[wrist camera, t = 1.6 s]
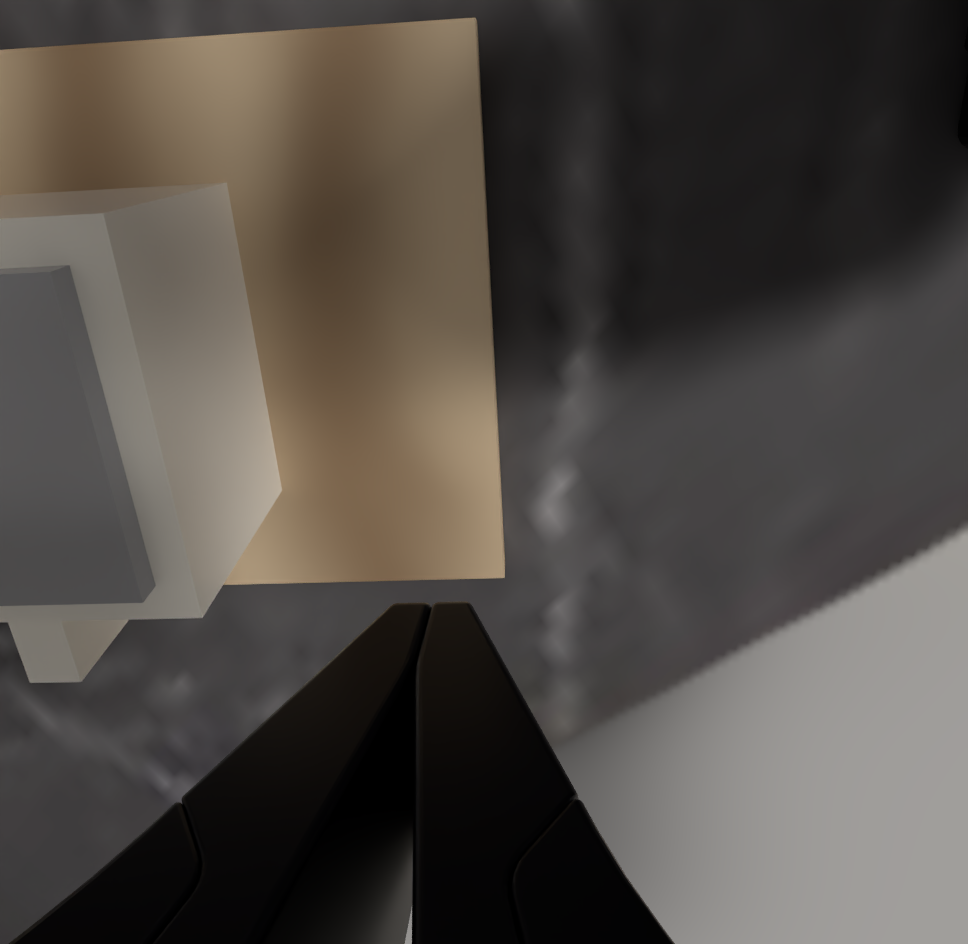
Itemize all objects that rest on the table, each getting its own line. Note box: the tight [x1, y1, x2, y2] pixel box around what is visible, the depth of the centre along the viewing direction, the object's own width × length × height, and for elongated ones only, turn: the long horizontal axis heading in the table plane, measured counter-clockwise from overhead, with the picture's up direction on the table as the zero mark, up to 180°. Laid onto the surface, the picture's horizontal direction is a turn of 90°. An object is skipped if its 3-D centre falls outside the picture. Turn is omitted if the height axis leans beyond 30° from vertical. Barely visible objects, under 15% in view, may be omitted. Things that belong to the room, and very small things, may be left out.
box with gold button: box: [0, 183, 282, 683], centre depth 18 cm, size 8×10×7 cm
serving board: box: [0, 18, 505, 585], centre depth 21 cm, size 20×14×1 cm
